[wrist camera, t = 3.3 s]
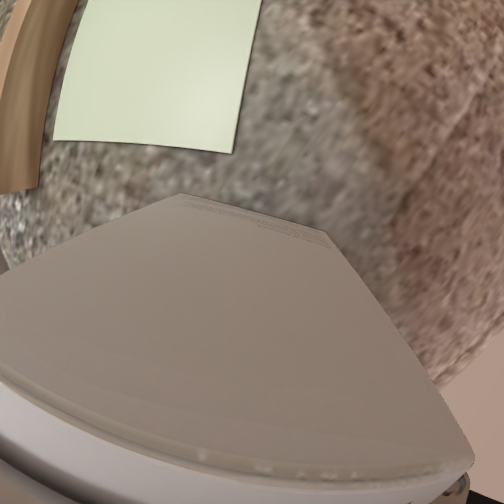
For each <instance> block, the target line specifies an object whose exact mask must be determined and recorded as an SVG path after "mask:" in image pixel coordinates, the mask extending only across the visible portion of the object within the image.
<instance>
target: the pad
mask: <svg viewBox="0 0 504 504" xmlns="http://www.w3.org/2000/svg"><path fill="white" fill-rule="evenodd" d="M261 3H262V0H89V1H88V3H87V6H86V9H85V11H84V14H83V17H82V19H81V22H80V25H79V28H78V31H77V34H76V37H75V40H74V44H73V47H72V50H71V54H70V57H69V61H68V65H67V68H66V72H65V77H64V81H63V85H62V90H61V94H60V99H59V104H58V110H57V116H56V122H55V128H54V135H53V140H74V141H105V142H124V143H138V144H151V145H162V146H173V147H182V148H191V149H199V150H207V151H215V152H222V153H229V154H232V151H233V146H234V140H235V134H236V128H237V123H238V117H239V112H240V106H241V101H242V95H243V90H244V85H245V80H246V75H247V70H248V65H249V60H250V55H251V50H252V45H253V40H254V35H255V31H256V26H257V21H258V17H259V12H260V8H261Z"/></svg>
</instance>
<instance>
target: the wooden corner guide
mask: <svg viewBox="0 0 504 504" xmlns="http://www.w3.org/2000/svg"><path fill="white" fill-rule="evenodd" d="M77 3H78V0H17V2H16V5H15V7H14V9H13V12H12V14H11V16H10V19H9V22H8V24H7V27H6V30H5V32H4V35H3V38H2V41H1V44H0V195H2V194H6V193H11V192H16V191H21V190H26V189H31V188H36V187H38V181H39V167H40V156H41V147H42V138H43V131H44V124H45V118H46V112H47V107H48V101H49V96H50V92H51V87H52V83H53V78H54V74H55V70H56V66H57V63H58V59H59V55H60V52H61V48H62V45H63V42H64V39H65V36H66V33H67V30H68V27H69V24H70V21H71V18H72V16H73V13H74V10H75V8H76V5H77Z"/></svg>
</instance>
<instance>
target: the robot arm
mask: <svg viewBox="0 0 504 504" xmlns="http://www.w3.org/2000/svg"><path fill="white" fill-rule="evenodd" d="M469 489H470V479H469V476H468V474H467V472H465V473H464V474H463V475H462V476H461V477H460V478H459V479H458V480H457V481H456V482H455V483H453V484H452V485H451V486H450V487H449V488H448V489H447V490H445V491H444V492H443V493H442V494H441V495H439V496H438V497H437V498H436V499H434V500H433V501H432V502H431V503H429V504H504V503H501V502H498V501H496V500H493V499H491V498H488V497H486V496H483V495H481V494H479V493H476V492H474V491H472V490H469ZM0 504H80V503H78V502H76V501H74V500H72V499H70V498H67V497H65V496H63V495H61V494H59V493H57V492H55V491H53V490H52V489H50V488H48V487H46V486H44V485H42V484H40V483H39V482H37V481H35V480H33V479H32V478H30V477H28V476H27V475H25V474H23V473H22V472H20V471H19V470H17V469H16V468H14V467H12V466H11V465H9V464H8V463H6V462H5V461H4V460H2V459H1V458H0Z"/></svg>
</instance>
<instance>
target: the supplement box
mask: <svg viewBox="0 0 504 504" xmlns="http://www.w3.org/2000/svg"><path fill="white" fill-rule="evenodd" d="M0 458H1V459H2V460H4V461H5V462H6V463H8V464H9V465H11V466H12V467H14V468H16V469H17V470H19V471H20V472H22V473H23V474H25V475H27V476H28V477H30V478H32V479H33V480H35V481H37V482H39V483H40V484H42V485H44V486H46V487H48V488H50V489H52V490H53V491H55V492H57V493H59V494H61V495H63V496H65V497H67V498H70V499H72V500H74V501H76V502H78V503H80V504H429V503H431V502H432V501H433V500H434V499H436V498H437V497H438V496H439V495H441V494H442V493H443V492H444V491H445V490H447V489H448V488H449V487H450V486H451V485H452V484H453V483H455V482H456V481H457V480H458V479H459V478H460V477H461V476H462V475H463V474H464V473H465V472H466V471H467V470H468V469H469V468H471V467H472V465H473V464H474V461H475V454H474V452H473V450H472V448H471V446H470V444H469V442H468V440H467V438H466V436H465V435H464V433H463V431H462V429H461V428H460V426H459V424H458V423H457V421H456V419H455V418H454V416H453V414H452V412H451V411H450V409H449V408H448V406H447V404H446V403H445V401H444V399H443V398H442V396H441V394H440V393H439V391H438V390H437V388H436V387H435V385H434V383H433V382H432V380H431V379H430V377H429V375H428V374H427V372H426V370H425V369H424V367H423V366H422V364H421V363H420V361H419V359H418V358H417V356H416V355H415V353H414V352H413V351H412V349H411V348H410V346H409V345H408V343H407V342H406V341H405V339H404V338H403V336H402V335H401V333H400V332H399V330H398V329H397V327H396V326H395V325H394V323H393V322H392V320H391V319H390V318H389V316H388V315H387V313H386V312H385V311H384V309H383V308H382V306H381V305H380V304H379V302H378V301H377V299H376V298H375V296H374V295H373V294H372V292H371V291H370V290H369V288H368V287H367V286H366V284H365V283H364V282H363V280H362V279H361V278H360V276H359V275H358V274H357V272H356V271H355V270H354V268H353V267H352V266H351V264H350V263H349V262H348V261H347V259H346V258H345V257H344V255H343V254H342V253H341V252H340V250H339V249H338V248H337V246H336V245H335V244H334V243H333V241H332V240H331V239H330V238H329V236H328V235H327V234H326V233H325V232H324V231H321V230H317V229H314V228H310V227H307V226H304V225H300V224H297V223H293V222H289V221H286V220H282V219H279V218H275V217H272V216H268V215H264V214H261V213H257V212H254V211H250V210H246V209H243V208H239V207H235V206H232V205H228V204H224V203H220V202H217V201H213V200H209V199H205V198H201V197H197V196H193V195H188V194H184V193H178V194H175V195H173V196H171V197H168V198H165V199H163V200H160V201H157V202H155V203H153V204H150V205H148V206H145V207H143V208H140V209H138V210H135V211H133V212H131V213H128V214H126V215H124V216H122V217H119V218H116V219H114V220H112V221H109V222H107V223H105V224H102V225H100V226H98V227H95V228H93V229H91V230H89V231H87V232H85V233H82V234H80V235H78V236H76V237H74V238H72V239H70V240H68V241H66V242H64V243H62V244H60V245H58V246H56V247H53V248H51V249H49V250H47V251H45V252H44V253H42V254H40V255H38V256H36V257H34V258H32V259H30V260H28V261H26V262H24V263H22V264H20V265H18V266H16V267H14V268H12V269H10V270H9V271H7V272H5V273H3V274H2V275H0Z"/></svg>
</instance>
